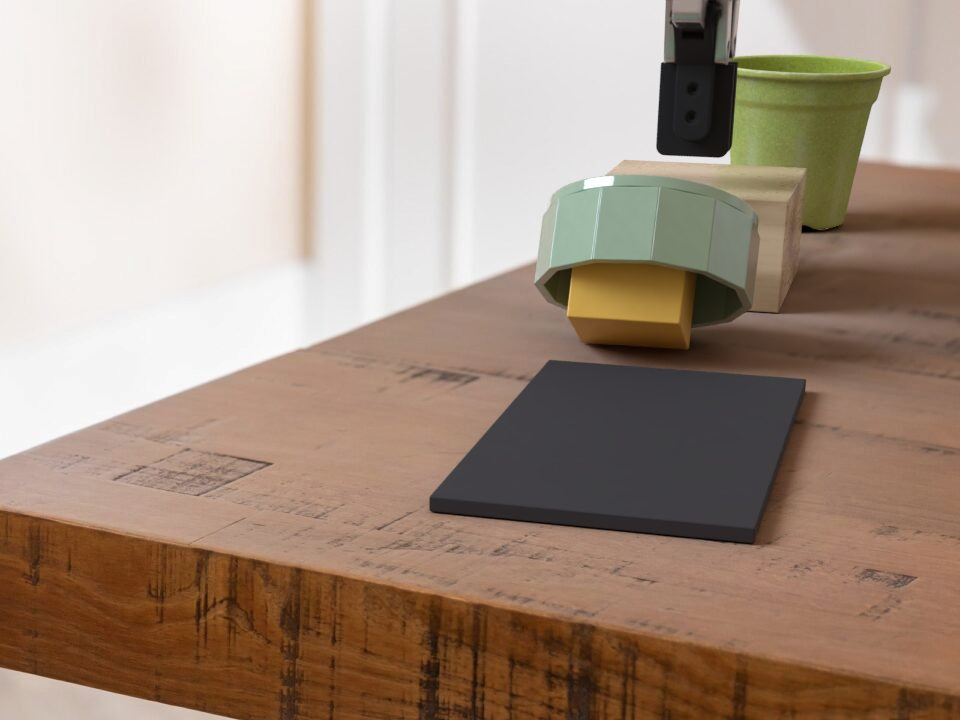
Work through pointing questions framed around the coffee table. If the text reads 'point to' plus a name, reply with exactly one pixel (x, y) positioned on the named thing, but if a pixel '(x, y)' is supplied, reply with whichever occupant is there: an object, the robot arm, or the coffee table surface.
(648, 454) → the mat
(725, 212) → the faceted mint tin
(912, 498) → the coffee table surface
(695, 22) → the robot arm
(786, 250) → the block
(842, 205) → the plant pot
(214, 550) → the coffee table surface
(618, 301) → the block
